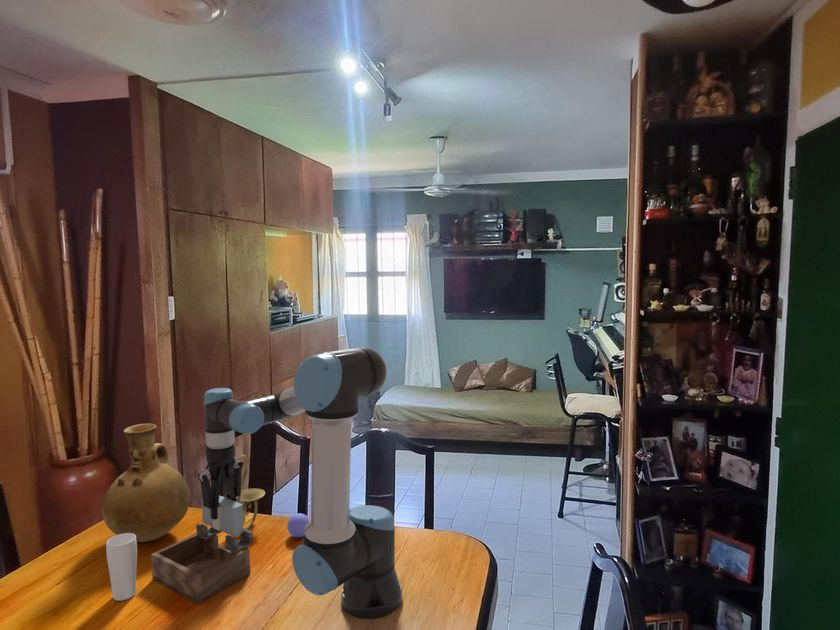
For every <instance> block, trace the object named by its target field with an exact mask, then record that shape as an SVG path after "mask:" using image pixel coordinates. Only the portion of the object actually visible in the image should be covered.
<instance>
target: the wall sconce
mask: <svg viewBox="0 0 840 630" xmlns="http://www.w3.org/2000/svg"><path fill="white" fill-rule="evenodd" d="M242 458H243V459H244V464H245V465H244V471H243V475H242V476H241V493H240V496H239V497H238V496H237V497H236V498H237V501H236V502H238V503H240V504H241V503H242V502H243V526H244V525H245V523H246V517H247V516H248V515H249V514H250V511H246V509H247V505H248V509H250V508H252V503H251V502H253V503H254V510H253V511H254V512H253V516H252V518H251V520H250V522H249V523H248V524H247V525H246V527H243V528H244V529H247V530H249V529H250V528H252V526H253V524H254V523H255V521H256V518H257V515H258V507H259V505H258V504H259V503H258V500H260V499H262V498H263V497H265V495H266V492H265V490H264V489H261V488H246V489H243V488H244V484H245V481H246V478H247V473H248V470H249V459H248V456H247V455H245V454H241V455H239V457H238V458H237V459H236V460H238V461H241V460H242Z"/></svg>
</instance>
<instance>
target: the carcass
mask: <svg viewBox="0 0 840 630" xmlns="http://www.w3.org/2000/svg"><path fill="white" fill-rule="evenodd" d="M195 526H196V533H194V534H192V535H189V536H187V537H186V538H183V539H181V540H179V541H177V542H175V543H172V544H170V545H168V546H166V547H163V548H162V549H160V550H157V551H155V552H153V553H151V555H150V557H151V575H152V578H151V579H152V580H153V581H156V582H157V583H159V584H161V585H162V586H164V587H166V588H168V589H170V590H171V591H174V592H175V593H177V594H179V595H180V596H182V597H184V598H186V599H187V600H189V601H191V602H193V603H195V604H197V605H199V604H202V603H203V602H205V601H206V600H209V598H212V597H213V596H215V595H216V594H218V593H220V592H222V591H223V590H225V589H227V588H228V587H230V586H232V585H234V584H235V583H237V582H239V581H241V580H242V579H244V578H245V577H247V576H249V575H250V574H251V556H250V555H251V554H250V548H248V547H249V546H251V545H253V531H252V530H249V529H248V530H247V529H244V528H245V527H243V533H241V534H239V536H240V538H239V539H238V538H236V537H233V536H231V535H229V534H226V535H225V536H224V538H225V546H223V545H221V544H219V534H221V533H223V532H222V531H219V530H216V529H214V528H213V527H211V526H210V527H209V528H208V525H206V524H204V523H202V522H201V523H200V522H197V523H196V525H195Z"/></svg>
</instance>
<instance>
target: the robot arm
mask: <svg viewBox="0 0 840 630" xmlns="http://www.w3.org/2000/svg"><path fill="white" fill-rule="evenodd" d="M387 372H388V371H387V365H386V363H385V361H384V359H383V357H382V356H381V355H380V353H378V352H377V351H375V350H374V349H372V348H369V347H364V346H363V347H362V346H357V347H352V348H348V349H339V350H334V351H323V352H320V353H318V354H313V355H310V356H307V358H305V359H304V360H303V361H302V362H301V363H300V364H299V366H298V367H297V370H296V371H295V375H294V380H293V386H291V387H289V388H286V389H283V390H282V391H278V392H276V393H274V394H269V395H265V396H261V397H257V398H251V399H246V400H241V401H240V400H236V399H234V398H235V396H234V392H233V390H232V389H231V388H228V387H219V388H218V387H216V388H210V389H209V390H206V391H205V392H204V396H203V397H204V398H203V399H204V402H203V410H204V412H203V414H204V415H203V416H204V430H205V431H204V432H205V434H204V435H205V445H206V448H205V457H206V462H207V463H206V465H207V466H206V467H205V470H204V471H203V472H202V473H201V472H200V473H198V474H197V478H198V480H199V483H200V488H201V499H202V498H203V506H204V507H207V508H209V509H210V511H211V519H213V528H214V529H216V530H219V531H220V530H222V522H221V507H220V506H218V505H219V495H221V484H222V482H223V486H224V492H225V498H227V499H230V500H232V501H235V502H237V498H236V497H237V496H238V497H239V496H240V493H241V481H242V469H243V467H244V462H243V461H241V460H240V461H238V460H237V459H236V458H235V457H236V444H235V440H236V438H235V436H236V435H235V432H238V433H239V434H240V433H241V434H246V435H249V434H251V435H252V434H254V433H256V432H257V431H259V429H261V428H262V426H265V425H266V426H267V425H268V424H271V423H275V422H279V421H282V420H283V421H284V420H287V419H291V418H294V417H297V416H299V415H300V414H301V413H304V414H305V416H306V417H307V418H308V419H310V421H311V469H310V470H311V474H310V475H311V477H310V479H311V480H310V481H311V483H310V486H311V488H310V522H309V523H308V524H307V525H306V526H305V528H304V536H303V542H302V544H299V545H298V546H297V547H296V548H295V549H294V550H293V552H292V557H291V558H292V559H291V561H292V567H293V570H294V573H295V575H296V578H297V579H298V580H299V582H300V584H301V585H302V586H303V588H304V589H306V591H308V592H310V593H311V594H313V595H315V596H325V595H326V594H329V593H330V592H332V591H335V590H337V589H338V588H339V587H340V586H342V585H343V586H342V589H341V598H340V599H341V606H342V608H343V610H345V612H347V613H348V614H349V615H352V616H354V617H357V618H363V619H376V618H381V617H384V616H387V615H389V614H391V613H393V612H394V611H396V610H397V609H398V608H399V607H400V605H401V603H402V600H403V590H402V585H401V582H400V581H399V578H398V574H397V571H396V568H395V567H396V566H395V565H396V564H395V558H396V557H395V555H396V553H395V552H396V551H395V548H396V547H395V542H396V539H395V535H396V534H395V532H396V531H395V530H396V526H395V520H394V519H395V517H394V514H393V513H392V512H391V511H390V509H387V508H385V507H383V506H378V505H374V504H373V505H371V504H368V505H366V504H364V505H357V506H354V507H351V508H350V504H351V503H350V498H351V497H350V495H351V493H350V491H351V460H352V459H351V456H352V454H351V453H352V452H351V451H352V449H351V448H352V420H354V418H356V417H357V416H358V414H359V405H360V404H359V403H360V399H364V398H367V397H370V396H371V395H374V394H375V393H377V392H378V391H379V390H380V389H381V388H382V387H383V385H384V384H385V382H386V379H387Z"/></svg>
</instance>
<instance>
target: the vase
mask: <svg viewBox="0 0 840 630" xmlns="http://www.w3.org/2000/svg"><path fill="white" fill-rule="evenodd" d="M157 428H158V427H157V425H156V424H155V423H140V424H134V425H132V426H127V427H126V428H125V429H124V430H123V434H124V435H125V437H126V438H127V442H128V447H129V449H128V450H127V453H126V454H127V456H128V457H129V459H130V461H129V466H128V468H127V470H126V471H124V472H123V473H121V474H120V475H119V476H118V477H117V478H116V479H115V480H114V481H113V482H112V484H111V485H110V487H109V488H108V489H107V492H106V494H105V496H104V499H103V502H102V508H101V512H102V513H101V514H102V518H103V519H102V520H103V521H104V523H105V525H106V527H107V529H109V530H110V531H111V532H112V533H113V534H115V536H116V535H119V534H123V533H132V534H135V535H136V540H137V542H140V543H144V542H146V543H147V542H151V541H155V540H157V539H159V538H162V537H164V536H165V535H166V534H168V533H169V532H171V531H172V530H173V529H174V528H175V527H176V526H178V525H179V523H180V522H181V521H182V520H183V519H184V517H185V516H186V514H187V513H188V510H189V509H190V508H189V506H190V504H191V503H190V502H191V491H190V489H189V486H188V483H187V481H186V479H185V477H184V476H183V475H182V474H181V473H180V472H179V471H178V470H177V469H175V468H174V467H172V466H170V465H169V464H170V463H169V462H170V461H169V453H168V452H169V451H168V449H167V446H165V444H164V443H155V433H156V430H157Z"/></svg>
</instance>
